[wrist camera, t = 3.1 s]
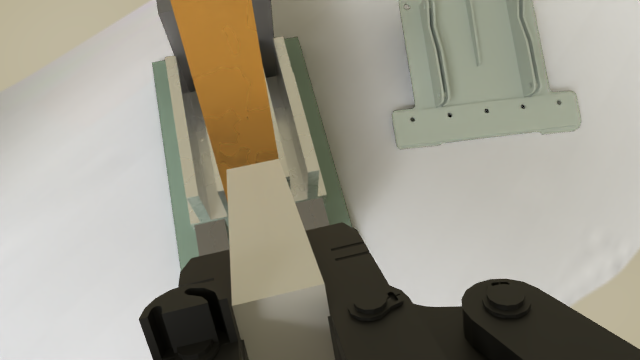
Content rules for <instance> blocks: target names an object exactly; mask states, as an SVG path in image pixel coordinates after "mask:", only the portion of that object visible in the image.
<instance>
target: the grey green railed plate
mask: <svg viewBox="0 0 640 360" xmlns="http://www.w3.org/2000/svg"><path fill="white" fill-rule="evenodd" d="M284 42H285V46H286V49H287V53H288V57H289V60H290V64H291V68H292V72H293V73H294V76H295V80H296V83H297V87H298V91H299V94H300V98H301V102H302V105H303V109H304V113H305V116H306V120H307V124H308V127H309V131H310V135H311V138H312V142H313V146H314V149H315V153H316V157H317V160H318V164H319V168H320V171H321V175H322V179H323V182H324V186H325V190H326V193H327V198H326V205H324V206H325V209H326V213H327V217H328V221H329V224H330V225H332V224H337V223H341V222H343V223H345V224H347V225H349V226H350V227H352V225H351V222H350V218H349V215H348V211H347V208H346V204H345V201H344V197H343V194H342V190H341V187H340V183H339V180H338V176H337V173H336V169H335V166H334V162H333V159H332V155H331V152H330V148H329V145H328V141H327V138H326V134H325V131H324V127H323V124H322V120H321V117H320V113H319V110H318V106H317V103H316V99H315V96H314V93H313V89H312V86H311V82H310V79H309V75H308V72H307V68H306V65H305V61H304V58H303V54H302V51H301V47H300V44H299V40H298V37H293V38H287V39H284ZM152 65H153V73H154V80H155V87H156V94H157V102H158V109H159V116H160V123H161V130H162V138H163V145H164V152H165V159H166V167H167V174H168V181H169V188H170V196H171V203H172V210H173V217H174V225H175V232H176V239H177V246H178V254H179V261H180V268H181V271H182V269H183V268H184V267H185V266H186V264H187V263H188V262H189V260H190V259H191V258H194V257H198V256H199V252H198V245H197V239H196V232H195V230H194V229H193V227H192V226H191V224H190V217H189V210H188V204H187V199H186V194H185V187H184V181H183V174H182V167H181V161H180V154H179V148H178V141H177V134H176V128H175V121H174V115H173V108H172V101H171V95H170V88H169V81H168V75H167V68H166V62H165V60H164V61H158V62H153V63H152ZM228 228H229V227H228Z"/></svg>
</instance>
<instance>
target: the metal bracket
mask: <svg viewBox="0 0 640 360" xmlns="http://www.w3.org/2000/svg"><path fill="white" fill-rule="evenodd" d="M404 5H409V7H410V9H408V10H406V9H404ZM399 8H400V14H401V20H402V27H403V33H404V39H405V45H406V51H407V58H408V64H409V70H410V76H411V82H412V89H413V95H414V101H415V107H414V108H412V109H405V110H396V111H394V112H393V113H392V120H393V127H394V133H395V140H396V145H397V148H398V149H409V148H419V147H428V146H438V145H441V144H442V143H448V142H456V141H465V140H473V139H481V138H490V137H498V136H506V135H515V134H523V133H531V132H540V133H541V134H552V133H561V132H571V131H575V130H576V129H578V128H579V127H580V123H581V117H580V112H579V107H578V102H577V97H576V94H575V93H574V92H572V91H562V92H552V91H550V89H549V84H548V79H547V74H546V68H545V63H544V58H543V53H542V48H541V43H540V38H539V33H538V27H537V22H536V17H535V12H534V7H533V2H532V0H399ZM557 101H560V105H558V104H557ZM521 105H524V107H525V108H524V109H522V108H521ZM485 109H487V110H488V113H485ZM448 113H450V114H451V115H452V117H451V118H450V117H448ZM410 118H414V120H415V121H414V122H412V121H411V120H410Z"/></svg>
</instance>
